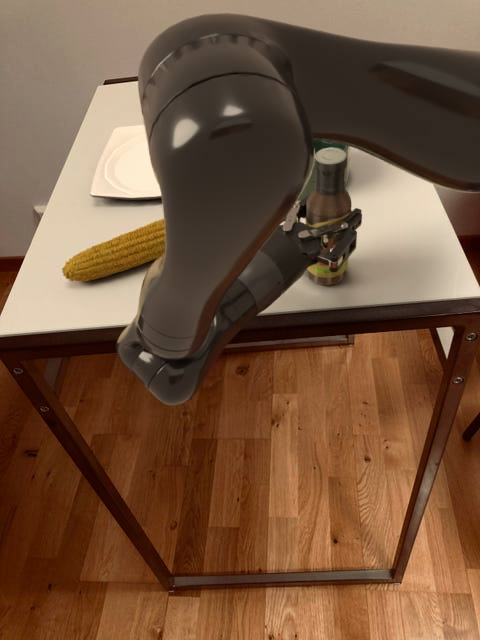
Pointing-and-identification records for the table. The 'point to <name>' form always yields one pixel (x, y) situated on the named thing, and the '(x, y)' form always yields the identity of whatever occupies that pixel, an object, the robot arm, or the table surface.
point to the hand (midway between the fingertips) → (337, 206)
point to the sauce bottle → (328, 206)
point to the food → (118, 253)
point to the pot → (311, 182)
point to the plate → (126, 167)
